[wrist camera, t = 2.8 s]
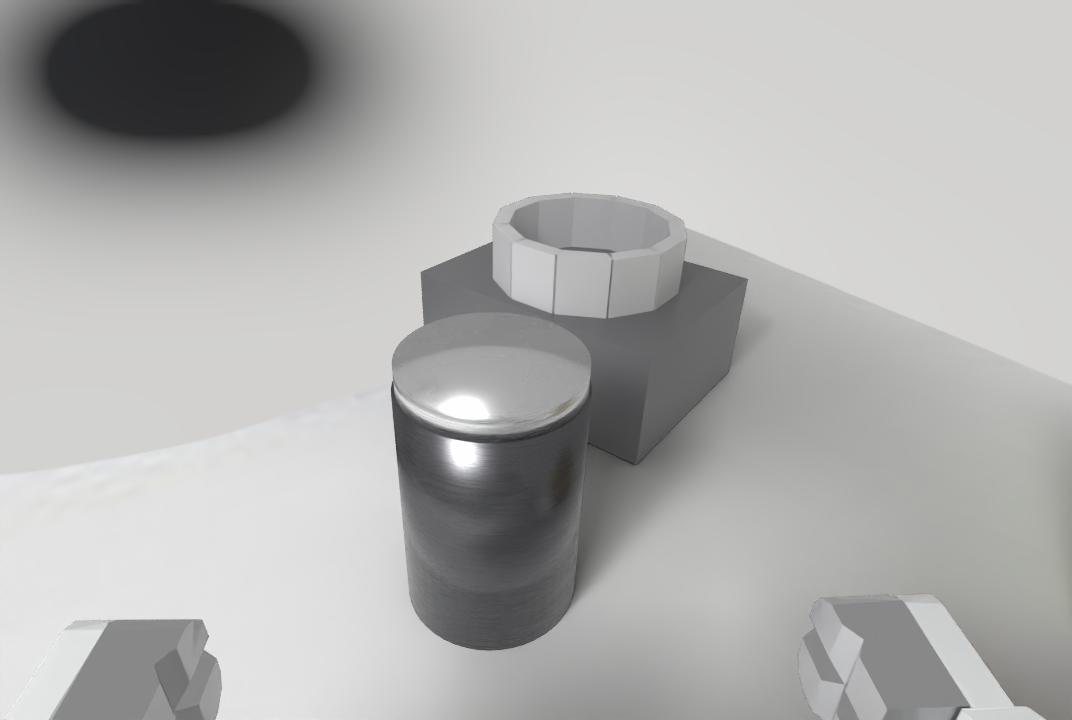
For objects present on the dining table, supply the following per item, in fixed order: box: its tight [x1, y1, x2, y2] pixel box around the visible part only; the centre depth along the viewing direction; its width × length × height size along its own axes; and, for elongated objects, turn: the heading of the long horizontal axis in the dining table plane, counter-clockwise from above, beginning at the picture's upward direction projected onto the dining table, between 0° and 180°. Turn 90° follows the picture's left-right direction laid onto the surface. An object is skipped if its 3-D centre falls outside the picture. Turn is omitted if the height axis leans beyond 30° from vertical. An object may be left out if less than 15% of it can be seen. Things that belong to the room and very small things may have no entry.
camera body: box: [421, 193, 748, 465], centre depth 38 cm, size 14×11×9 cm
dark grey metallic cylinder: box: [391, 312, 592, 650], centre depth 24 cm, size 6×6×10 cm
